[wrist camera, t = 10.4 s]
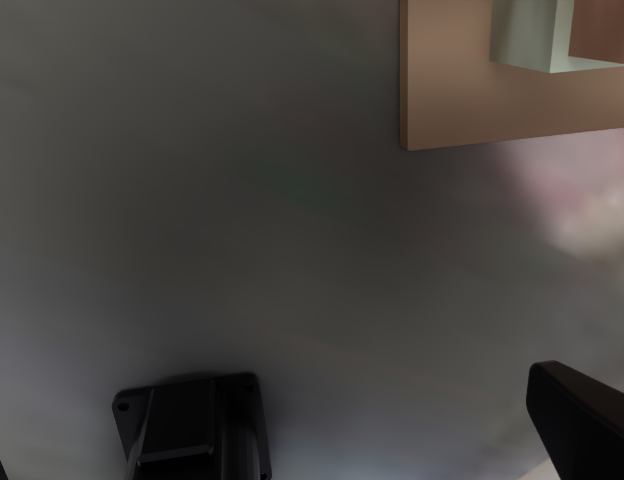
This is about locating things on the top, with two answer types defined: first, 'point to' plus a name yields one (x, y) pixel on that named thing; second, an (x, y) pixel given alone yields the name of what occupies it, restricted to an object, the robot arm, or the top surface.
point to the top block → (598, 30)
